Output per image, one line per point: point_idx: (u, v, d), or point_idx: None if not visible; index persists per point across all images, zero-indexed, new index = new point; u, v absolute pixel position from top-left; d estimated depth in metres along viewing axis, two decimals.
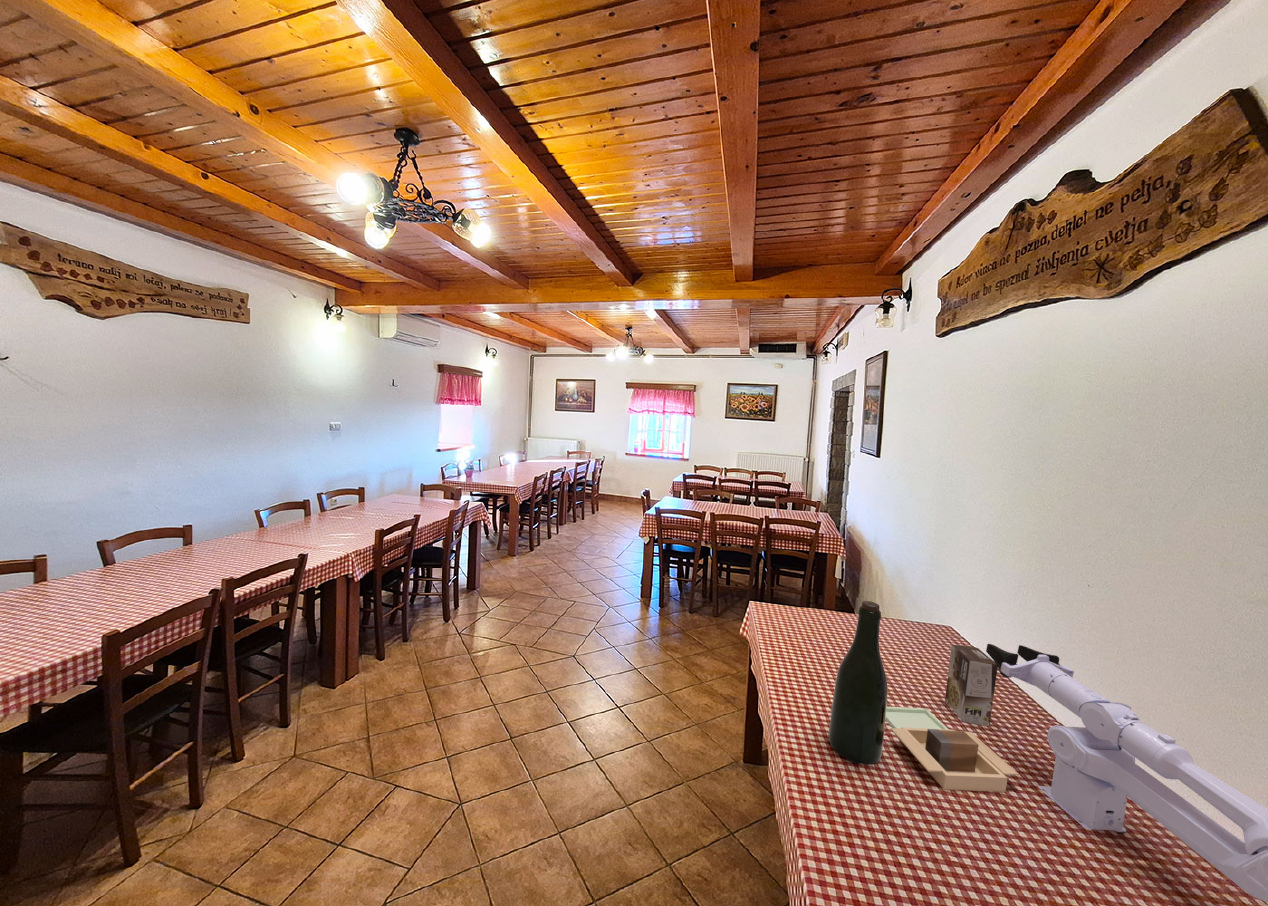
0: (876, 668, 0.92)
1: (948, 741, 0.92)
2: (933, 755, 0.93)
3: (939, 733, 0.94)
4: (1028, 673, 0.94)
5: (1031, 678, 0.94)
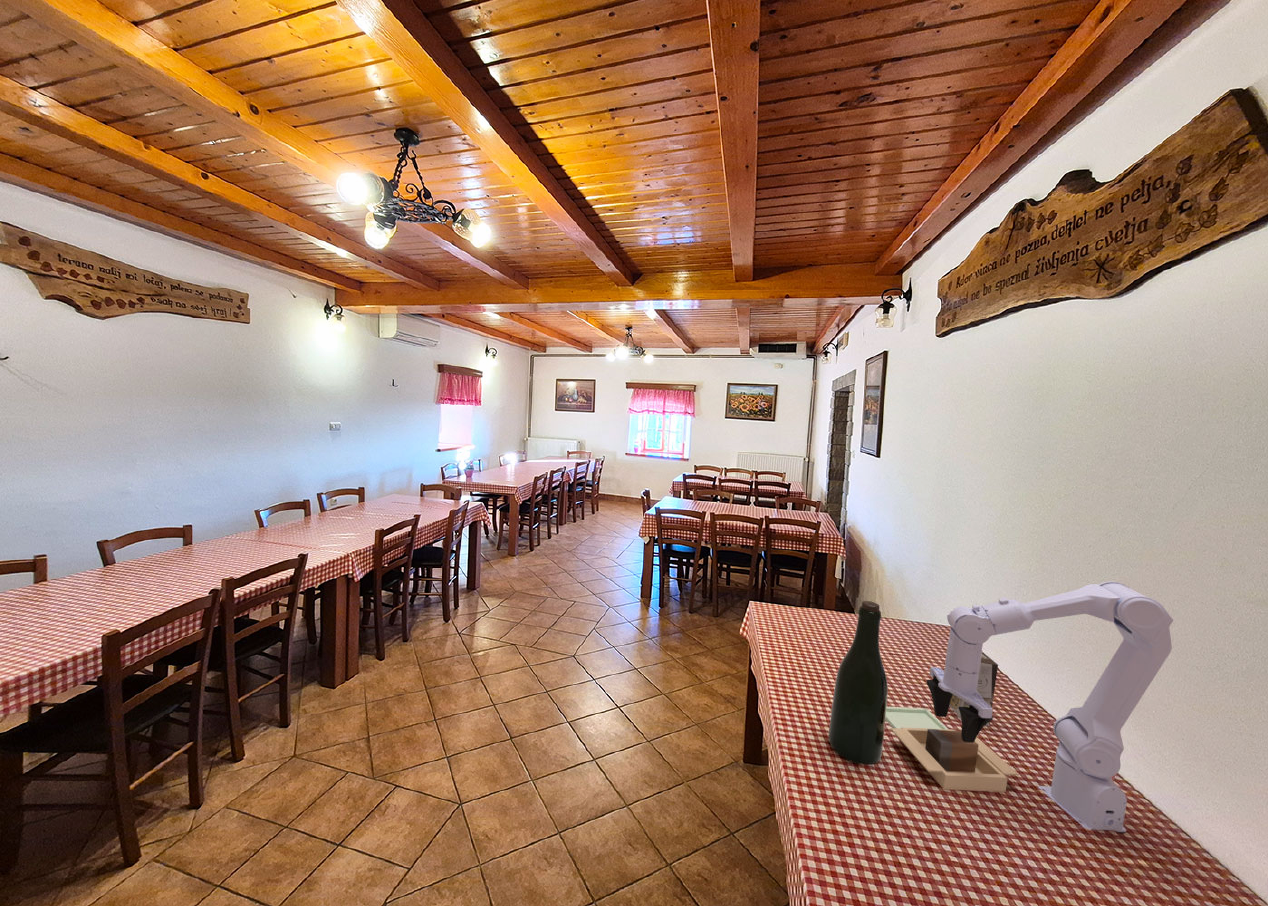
0: (876, 668, 0.92)
1: (948, 741, 0.92)
2: (933, 755, 0.93)
3: (939, 733, 0.94)
4: (970, 694, 0.90)
5: (973, 691, 0.90)
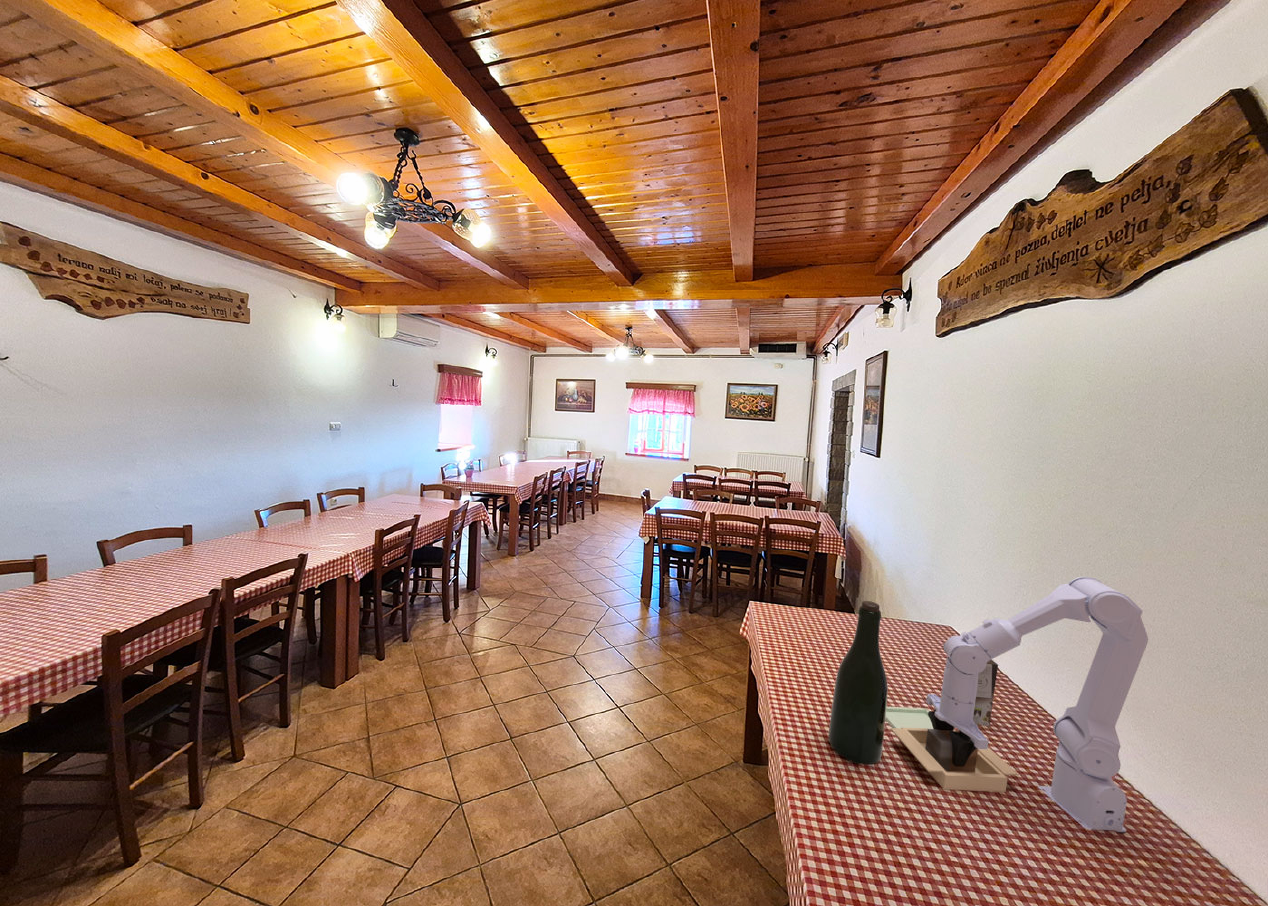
0: (876, 668, 0.92)
1: (948, 741, 0.92)
2: (933, 755, 0.93)
3: (939, 733, 0.94)
4: (966, 724, 0.90)
5: (969, 721, 0.91)
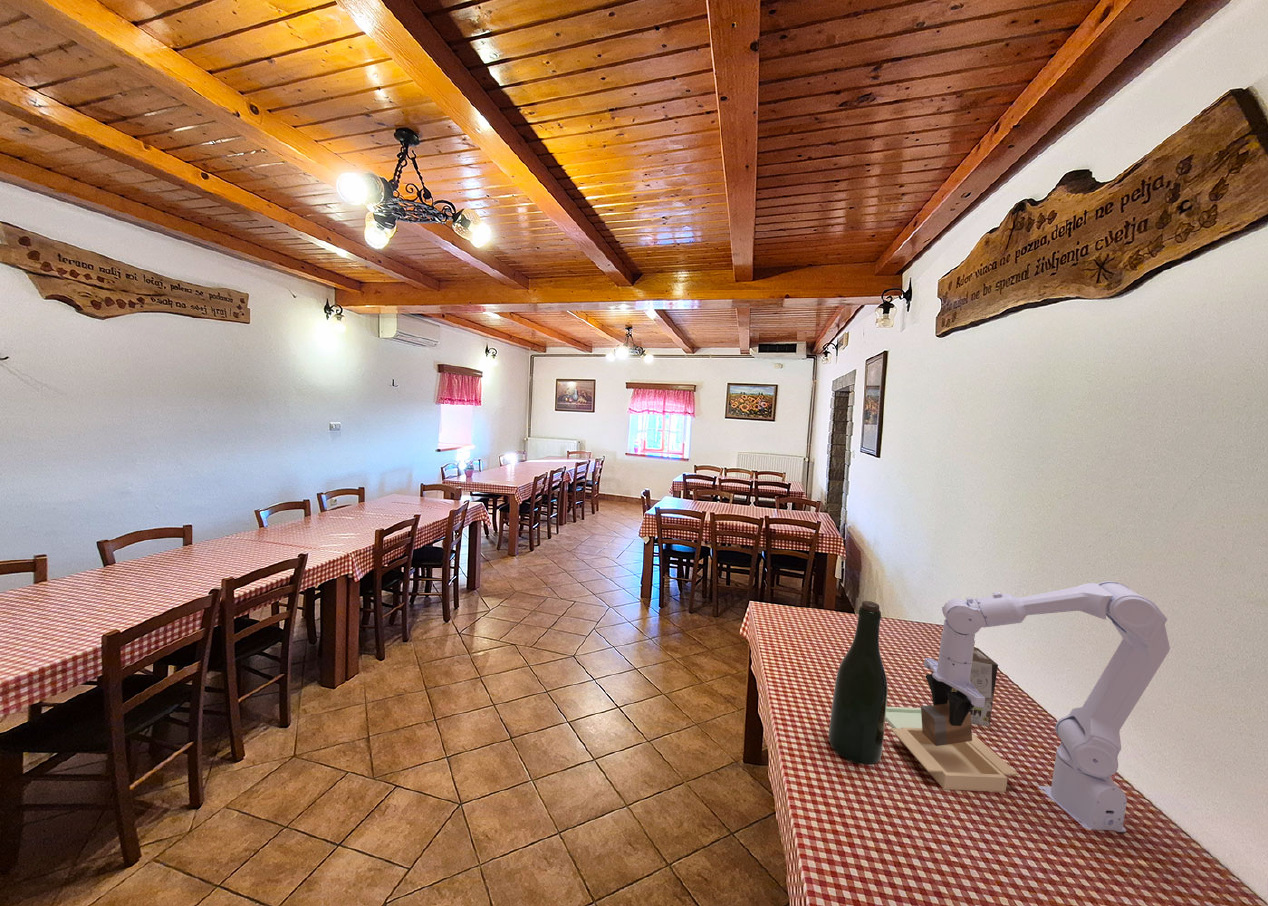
0: (876, 668, 0.92)
1: (941, 715, 0.94)
2: (929, 731, 0.95)
3: (932, 709, 0.96)
4: (963, 684, 0.92)
5: (966, 681, 0.92)
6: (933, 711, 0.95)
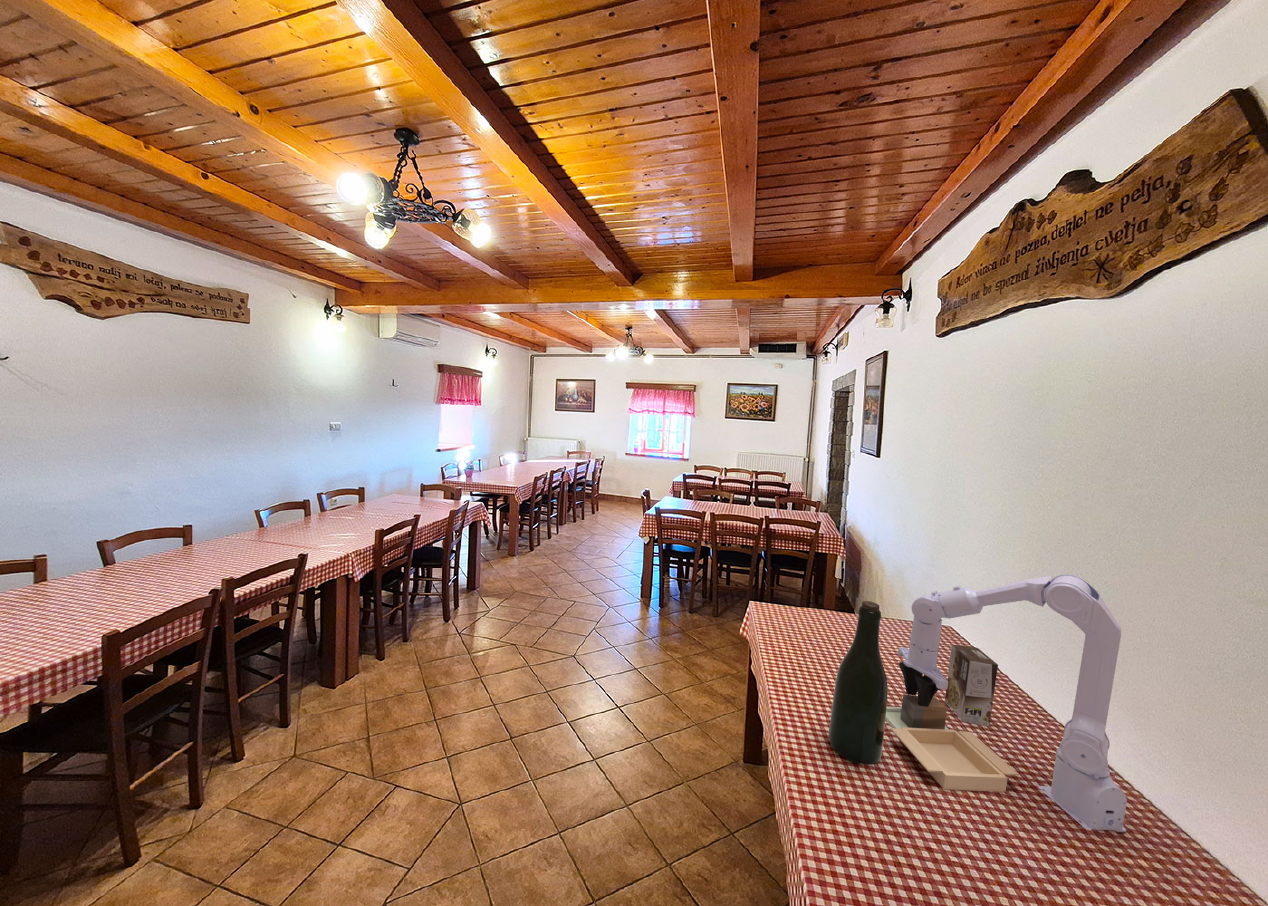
0: (876, 668, 0.92)
1: None
2: (907, 717, 1.06)
3: (913, 698, 1.06)
4: (930, 669, 1.03)
5: (933, 667, 1.03)
6: (914, 700, 1.06)
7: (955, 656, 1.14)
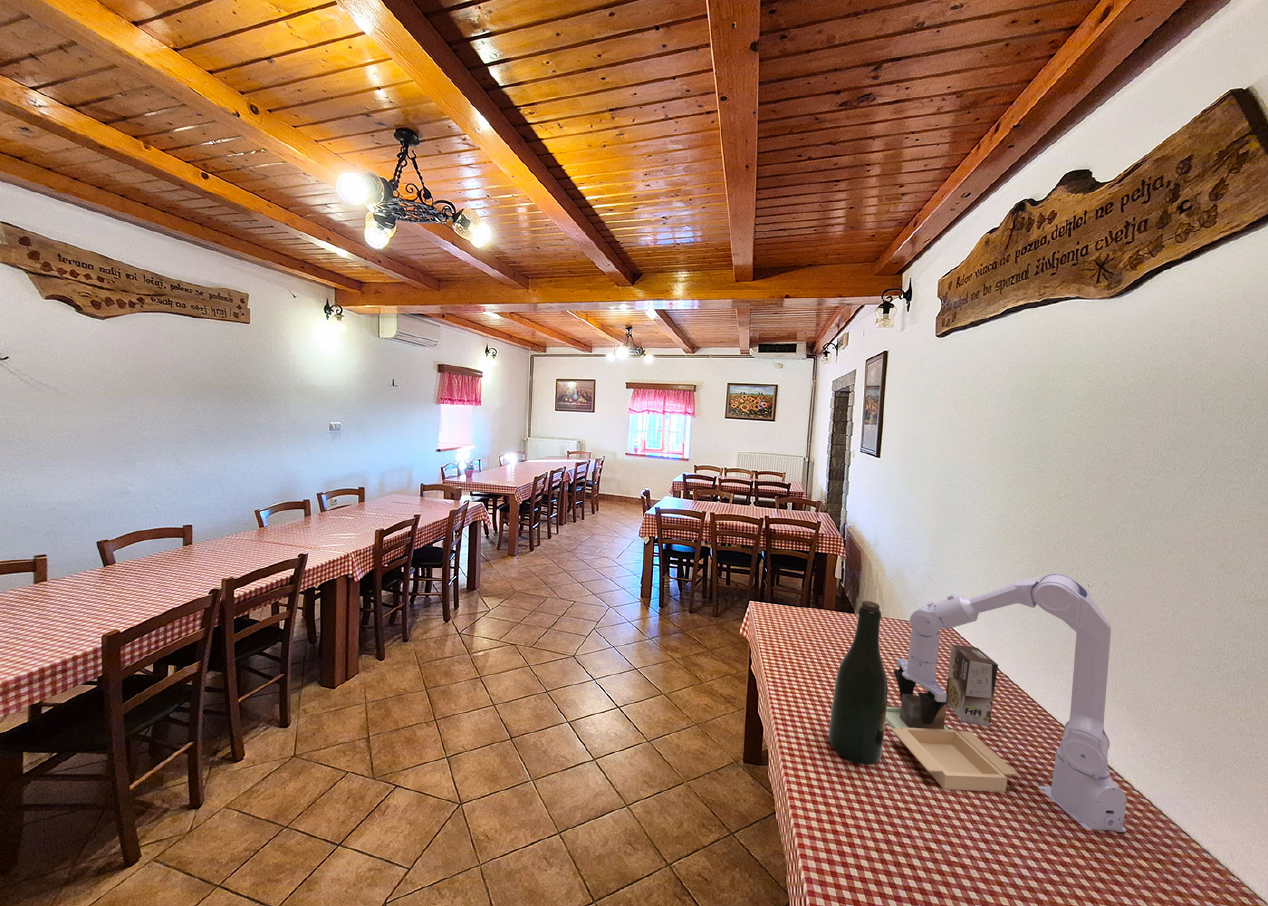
0: (876, 668, 0.92)
1: (919, 703, 1.05)
2: (906, 716, 1.06)
3: (912, 697, 1.07)
4: (929, 682, 1.03)
5: (931, 679, 1.03)
6: (913, 699, 1.06)
7: (955, 656, 1.14)
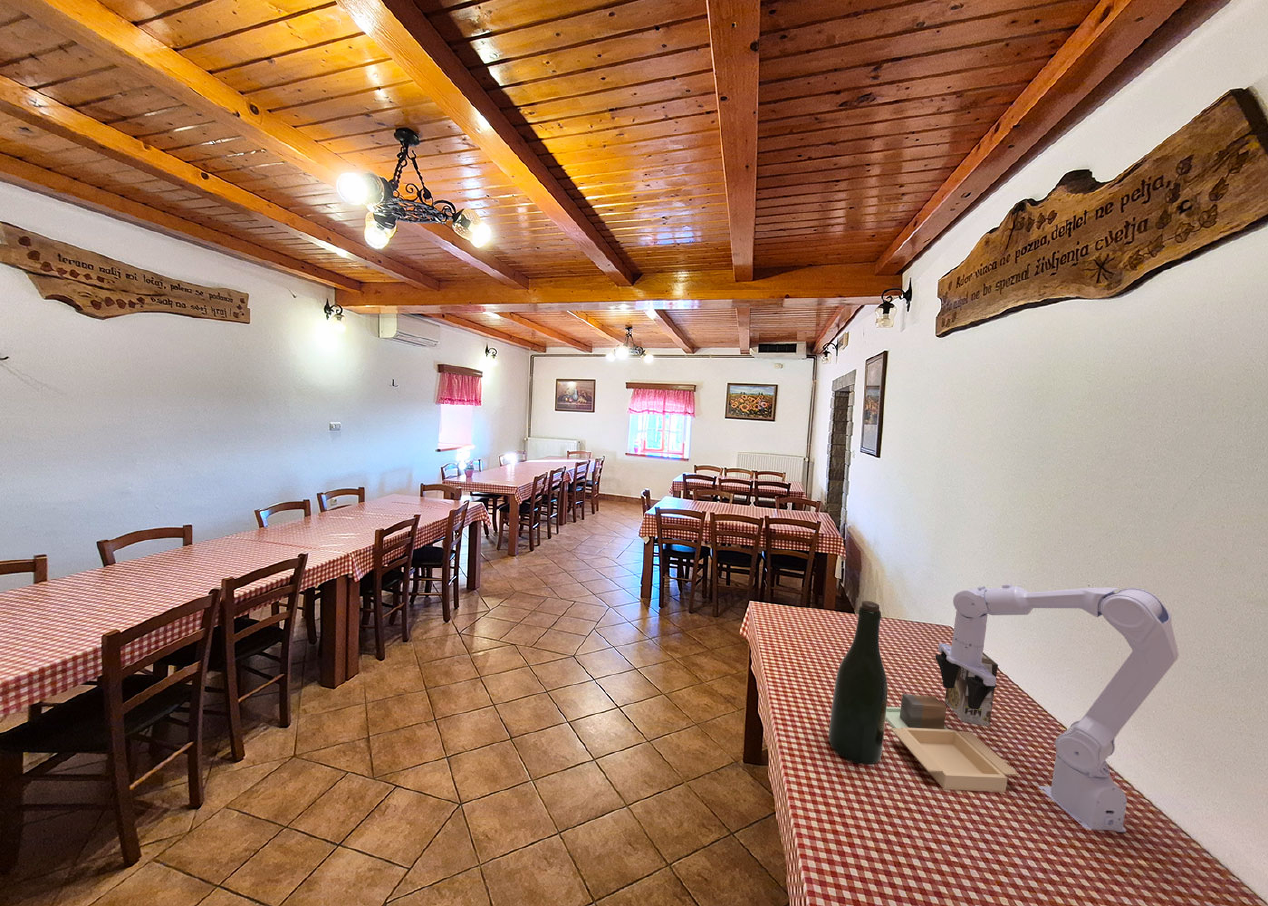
0: (876, 668, 0.92)
1: (919, 703, 1.05)
2: (906, 716, 1.06)
3: (912, 697, 1.07)
4: (976, 666, 0.99)
5: (978, 663, 0.99)
6: (913, 699, 1.06)
7: None
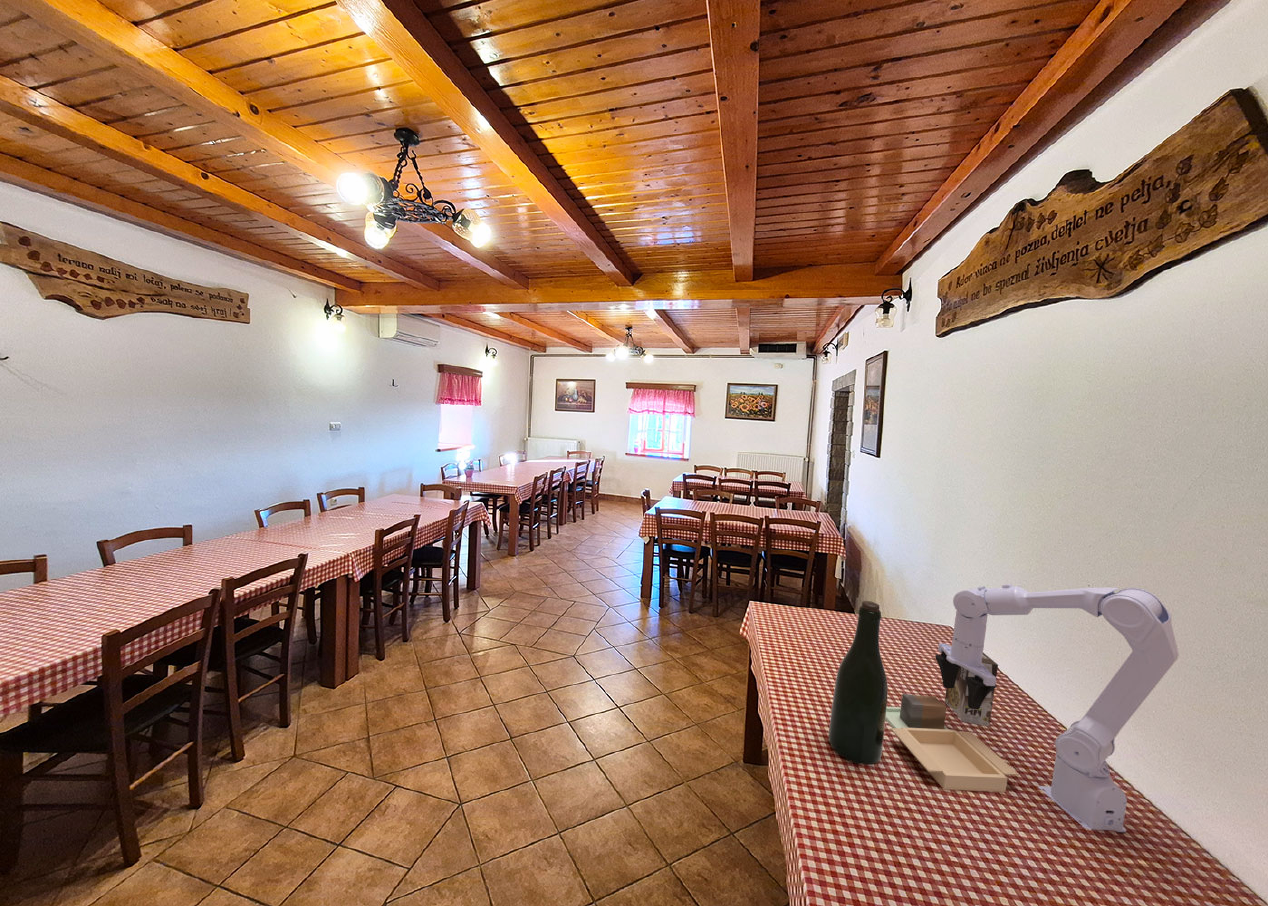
0: (876, 668, 0.92)
1: (919, 703, 1.05)
2: (906, 716, 1.06)
3: (912, 697, 1.07)
4: (976, 666, 0.99)
5: (978, 663, 0.99)
6: (913, 699, 1.06)
7: None
